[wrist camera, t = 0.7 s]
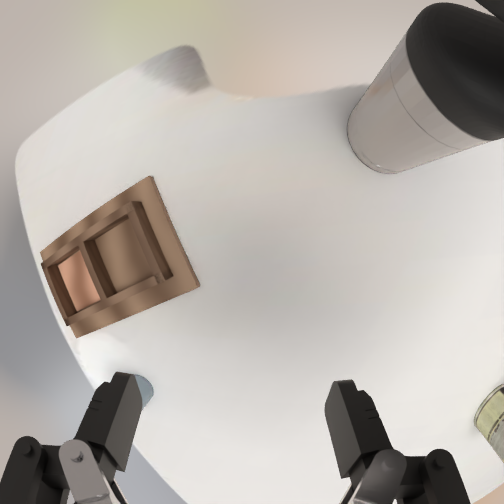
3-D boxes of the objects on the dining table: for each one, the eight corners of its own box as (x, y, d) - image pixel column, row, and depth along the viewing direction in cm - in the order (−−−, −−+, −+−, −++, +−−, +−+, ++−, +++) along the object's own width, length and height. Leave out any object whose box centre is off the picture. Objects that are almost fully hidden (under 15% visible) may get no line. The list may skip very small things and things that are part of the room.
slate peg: (130, 369, 35) (81, 420, 22) (156, 385, 35) (114, 442, 22) (124, 389, 36) (79, 439, 23) (149, 403, 35) (110, 459, 23)
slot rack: (152, 176, 31) (139, 173, 28) (200, 285, 32) (191, 293, 29) (44, 251, 34) (28, 254, 31) (80, 336, 35) (66, 344, 32)
